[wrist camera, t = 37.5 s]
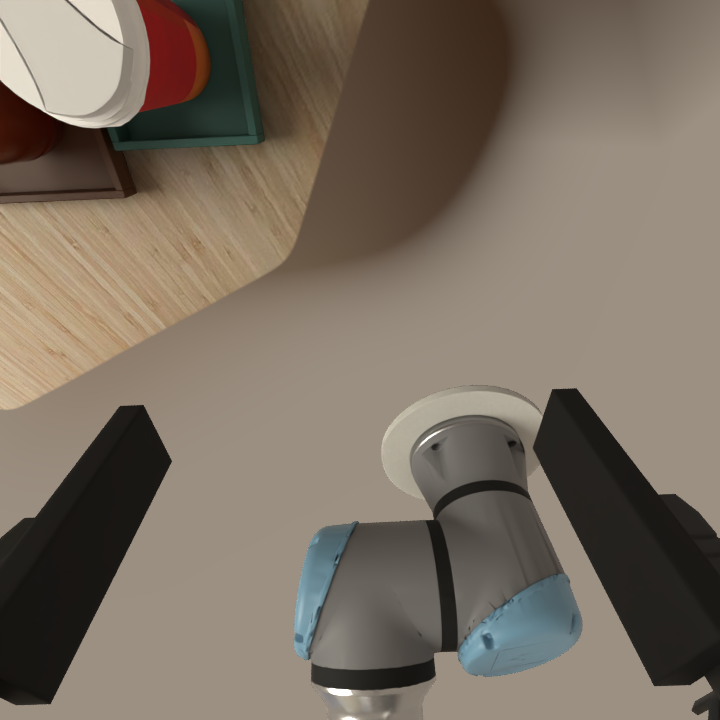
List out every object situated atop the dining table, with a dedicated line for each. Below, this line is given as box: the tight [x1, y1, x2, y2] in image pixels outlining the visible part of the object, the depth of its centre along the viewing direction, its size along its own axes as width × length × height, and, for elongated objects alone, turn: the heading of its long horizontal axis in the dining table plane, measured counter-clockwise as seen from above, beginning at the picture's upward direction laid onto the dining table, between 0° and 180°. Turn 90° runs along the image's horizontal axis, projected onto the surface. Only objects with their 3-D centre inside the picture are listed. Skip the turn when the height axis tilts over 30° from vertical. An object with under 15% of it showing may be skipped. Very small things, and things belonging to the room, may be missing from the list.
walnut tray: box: [0, 122, 137, 204], centre depth 28 cm, size 12×14×2 cm
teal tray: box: [107, 0, 265, 151], centre depth 26 cm, size 11×11×2 cm
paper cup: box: [0, 0, 211, 128], centre depth 21 cm, size 8×8×14 cm
